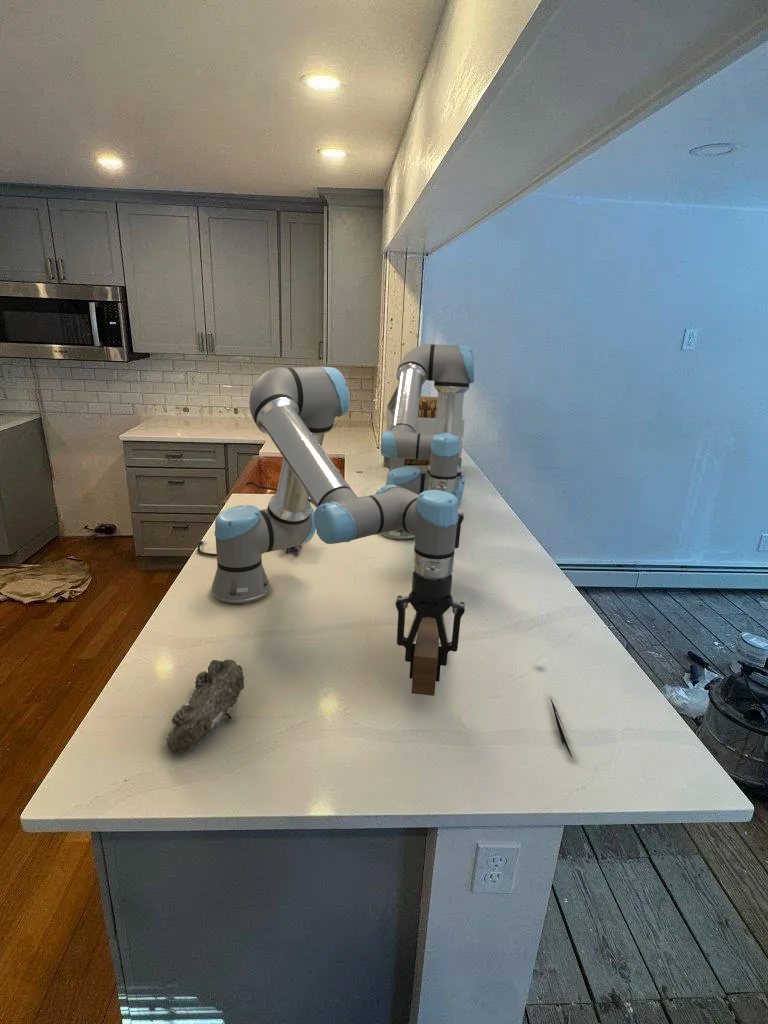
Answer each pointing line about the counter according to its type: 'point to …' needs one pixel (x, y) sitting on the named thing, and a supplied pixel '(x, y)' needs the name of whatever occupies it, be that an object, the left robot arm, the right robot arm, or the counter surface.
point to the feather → (560, 728)
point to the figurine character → (293, 548)
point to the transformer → (418, 429)
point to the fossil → (206, 705)
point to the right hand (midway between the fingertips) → (435, 567)
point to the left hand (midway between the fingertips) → (424, 675)
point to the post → (425, 658)
